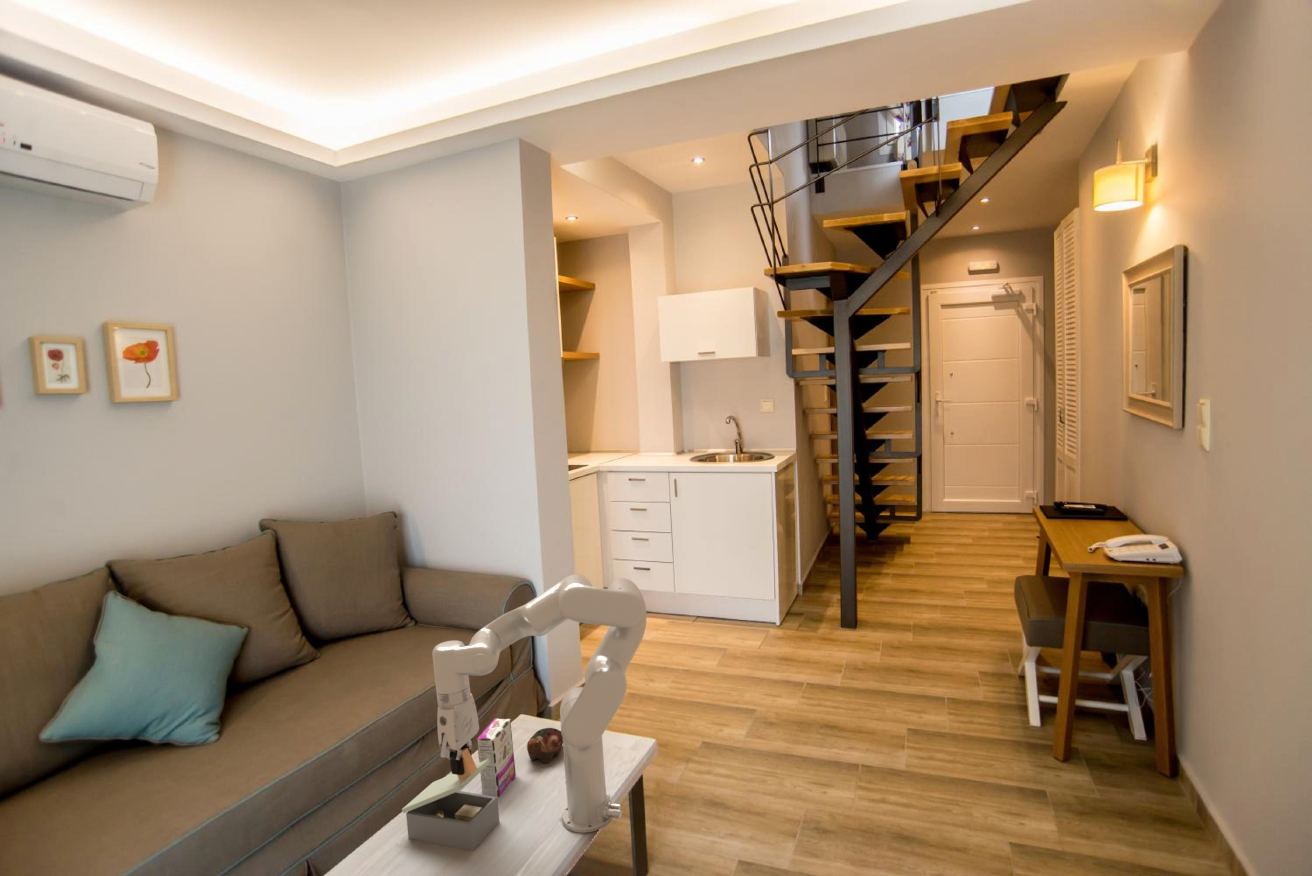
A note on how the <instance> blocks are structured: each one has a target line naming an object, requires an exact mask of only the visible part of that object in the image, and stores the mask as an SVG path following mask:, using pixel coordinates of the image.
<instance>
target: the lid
mask: <svg viewBox="0 0 1312 876" xmlns="http://www.w3.org/2000/svg"><path fill="white" fill-rule="evenodd" d="M460 752H461V758H463V765H464V774H463V775H456V774H452V773H451V774H449V775H446V776H445V777H442V778H440V779H437V780H435V781H433V782H432V783H430V784H429V785H428V786H426V788H425V789H424V790H422V791H421V792H420V793H419V794H417V795H416V796H415V797H414V798H412V799H411V801H409V803H407V804H406V805H405V806H404V807H402V808H401V811H402V813H403V814H406V813H407V812H408V811H410V810H413V809H415V808H418V807H420V806H423V805H425V804H428V803H430V802H433V801H435V800H438V799H440V798H443V797H445V796H448V795H450V794H452V793H455V792H457V791H462V790H463V789H464V788H466V786H468V784H469V783H471V782H472V780H473V779H475V778H476V777H478V775H479V774H481V773H480V772H481V771H482V770H483V769H484V768H485V767H486V766H487V765H488V764H489V763H490V761H489V759H487V760H485V761H482V762H480V763H479V762H478V763H475V761H474V759H473V756H472V753H471V754H470V752H469V750H468V748H466V749H463V750H461V751H460Z"/></svg>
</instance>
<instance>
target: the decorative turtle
mask: <svg viewBox="0 0 1312 876" xmlns="http://www.w3.org/2000/svg"><path fill="white" fill-rule="evenodd" d="M562 746H563V737H562V733H561V730H559V729H557V728H555V727H545V728H541V729H539V730H537V731H535V733H533V734H532V736H531V737H530V738H529V740H528V741H527V744H526V751H527V754H528V757H529V759H530V760H531V761H535V760H537V759H538V758H539V759H540V760H541V761H542V762H543V763H545V764H548V763H550V761H551V760H552V757H553V756H555V757H557V756H559V755H560V751H561V750H562V748H563V747H562Z"/></svg>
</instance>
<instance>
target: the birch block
mask: <svg viewBox="0 0 1312 876" xmlns="http://www.w3.org/2000/svg"><path fill="white" fill-rule="evenodd" d="M481 810H482V807H477V806H471V805H466V804H465V805H464V806H463V807H462V808H461V809H460V810H459V811H458V812H457V813H456V814H455V820H460V821H465V822H471V821H472V819H473V818H474V817H475V816H476V815H477V814H478V813H479V812H480V811H481Z"/></svg>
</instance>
